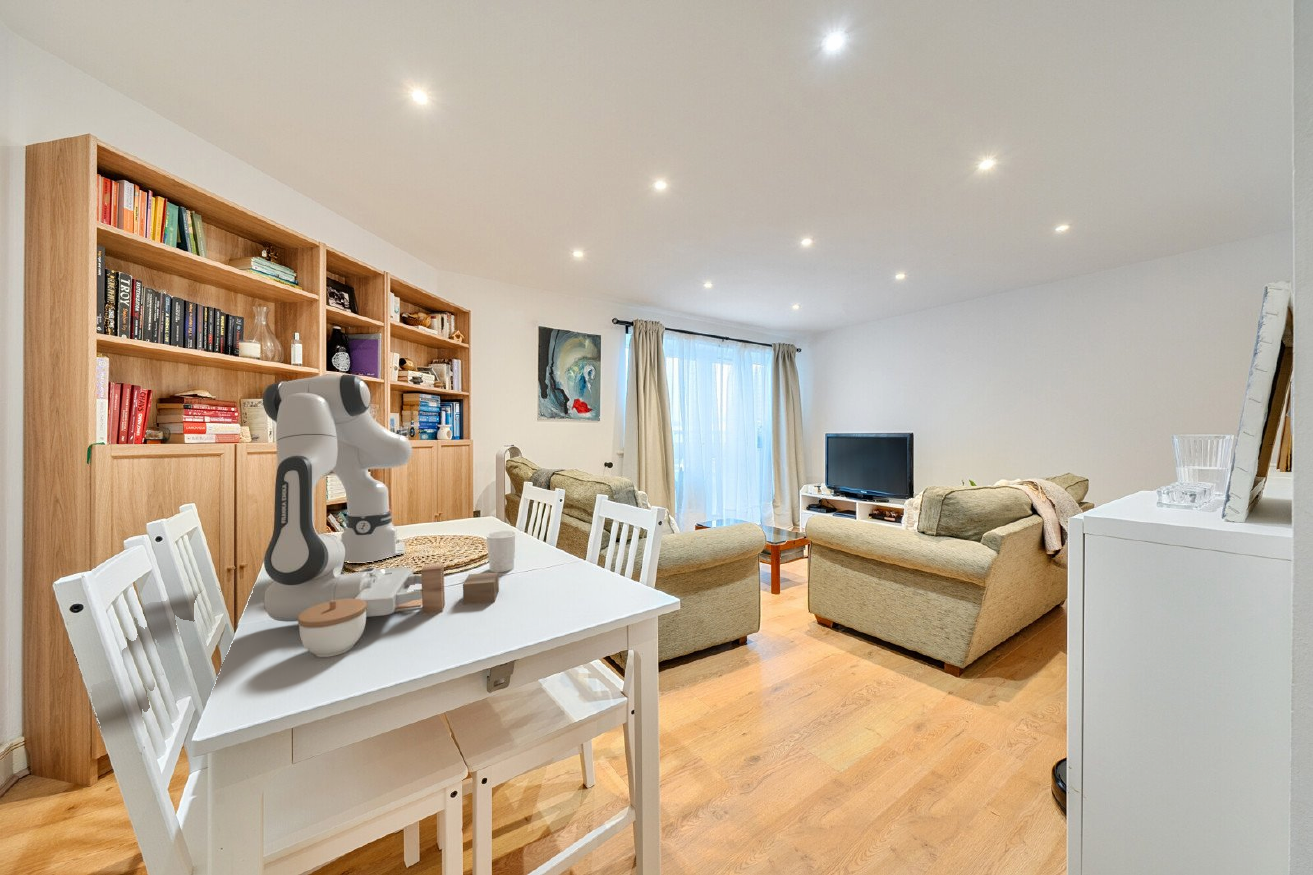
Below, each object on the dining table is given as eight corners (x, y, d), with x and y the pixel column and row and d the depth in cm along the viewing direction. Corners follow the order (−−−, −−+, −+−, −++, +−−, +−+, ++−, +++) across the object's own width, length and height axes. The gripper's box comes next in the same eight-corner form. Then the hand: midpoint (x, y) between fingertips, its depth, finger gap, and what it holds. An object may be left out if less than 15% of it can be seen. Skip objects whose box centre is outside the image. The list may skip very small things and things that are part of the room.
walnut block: (469, 594, 115) (468, 574, 115) (498, 591, 117) (498, 572, 116) (463, 605, 108) (462, 584, 108) (494, 602, 110) (494, 582, 109)
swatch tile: (389, 598, 113) (389, 595, 113) (430, 593, 115) (430, 591, 115) (378, 613, 104) (378, 610, 104) (423, 608, 106) (423, 605, 106)
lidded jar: (295, 649, 88) (293, 601, 88) (360, 630, 96) (358, 585, 95) (304, 671, 80) (301, 618, 80) (374, 648, 88) (372, 600, 88)
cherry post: (426, 607, 107) (424, 564, 107) (444, 604, 108) (443, 562, 108) (422, 614, 103) (421, 570, 103) (442, 611, 104) (440, 568, 104)
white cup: (481, 571, 131) (480, 536, 131) (499, 563, 139) (498, 530, 138) (504, 574, 129) (503, 539, 128) (521, 565, 136) (520, 532, 136)
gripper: (338, 597, 91) (416, 589, 95) (370, 565, 111) (433, 559, 115) (340, 628, 91) (417, 619, 95) (371, 591, 111) (434, 584, 115)
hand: (426, 586), depth 105 cm, fingers open, 8 cm apart
